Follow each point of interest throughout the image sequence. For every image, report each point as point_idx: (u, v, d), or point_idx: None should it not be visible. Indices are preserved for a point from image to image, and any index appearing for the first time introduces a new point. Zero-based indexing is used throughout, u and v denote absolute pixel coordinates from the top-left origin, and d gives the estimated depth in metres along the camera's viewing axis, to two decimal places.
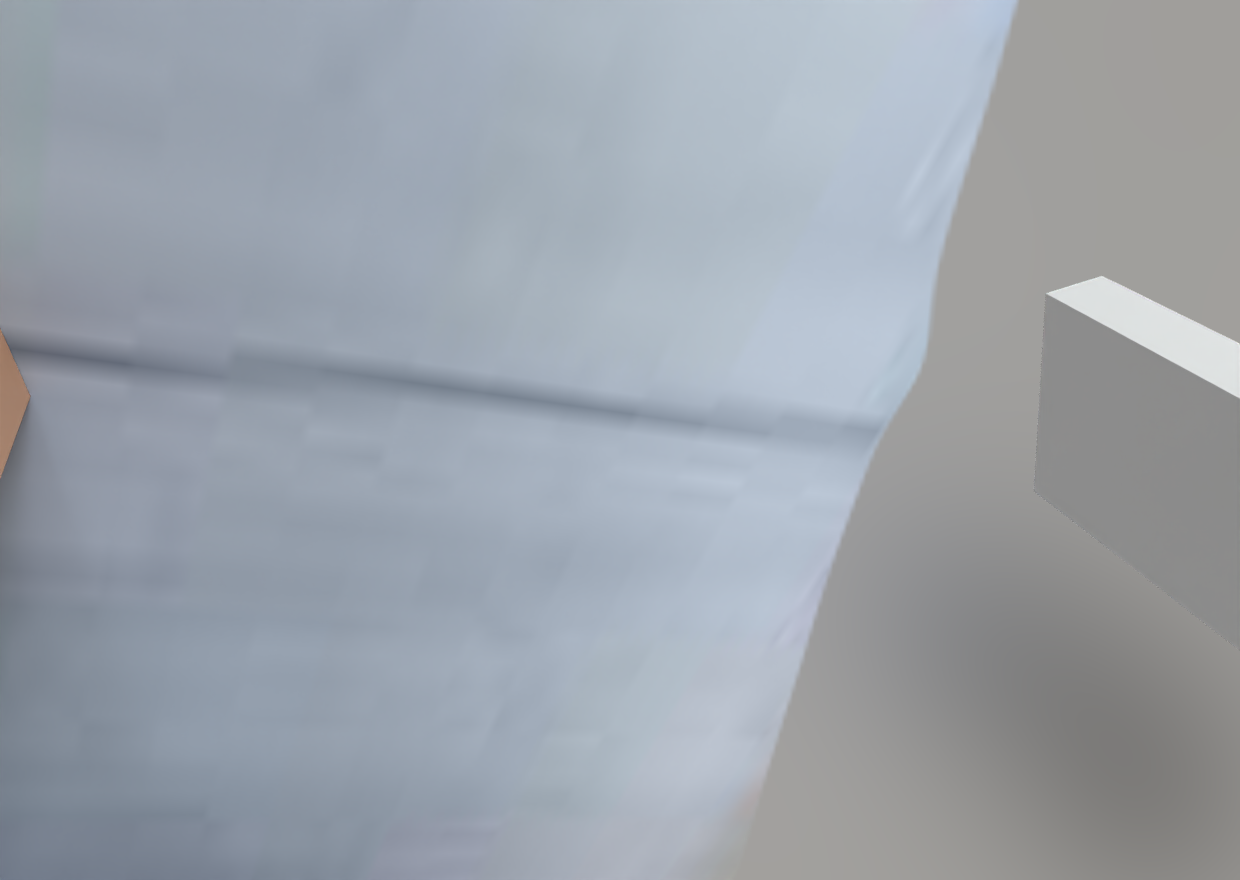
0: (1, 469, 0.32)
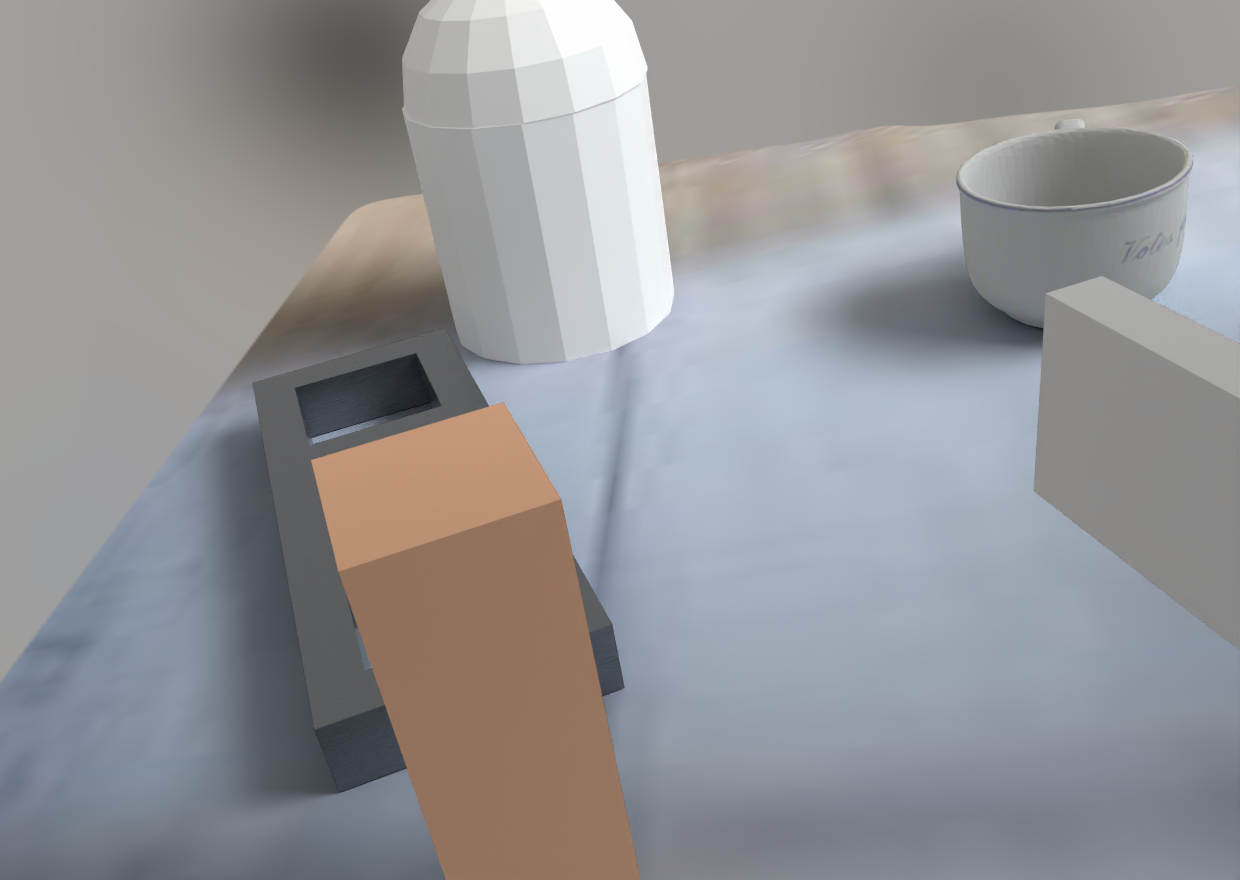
0: None
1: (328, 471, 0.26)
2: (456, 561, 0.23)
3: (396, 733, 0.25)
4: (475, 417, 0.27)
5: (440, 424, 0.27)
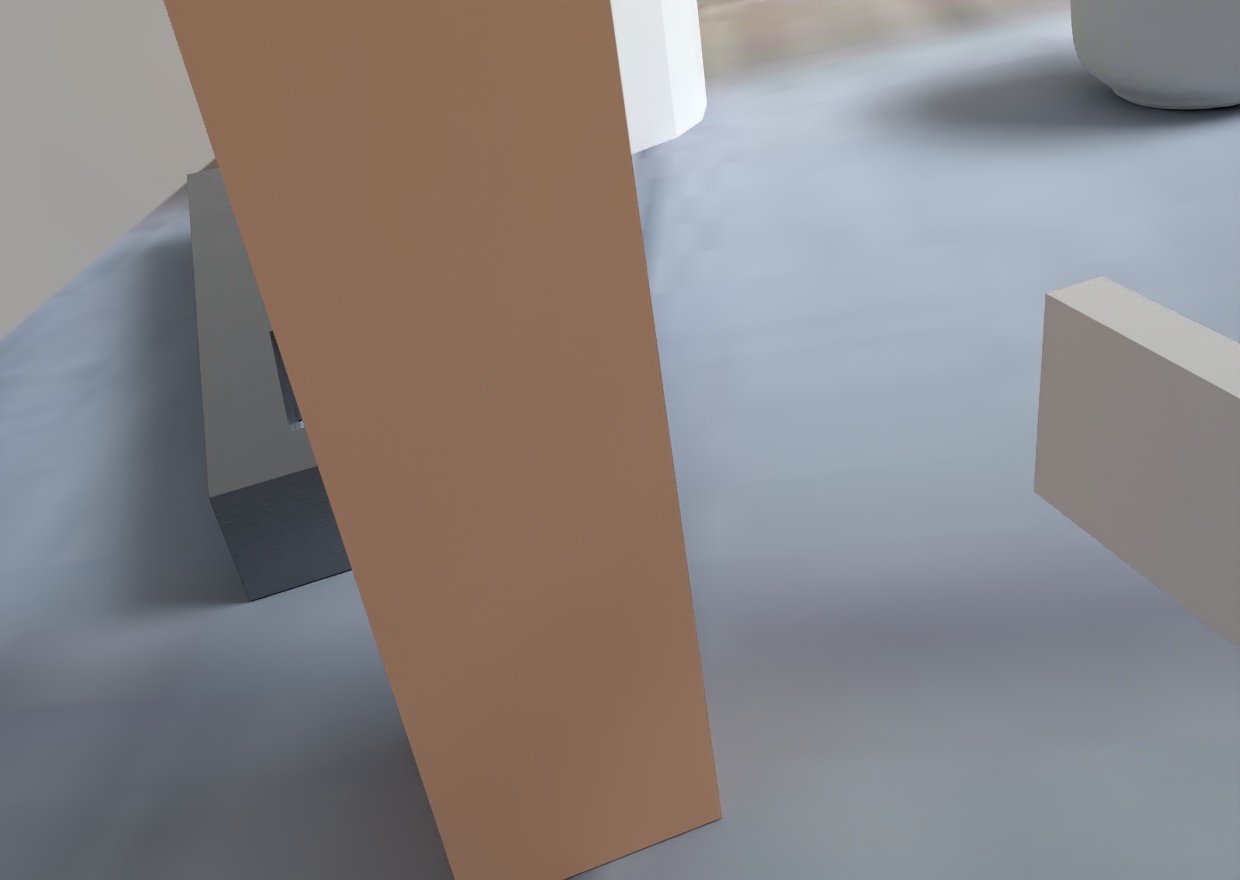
0: (395, 676, 0.16)
1: None
2: None
3: (258, 277, 0.13)
4: None
5: None
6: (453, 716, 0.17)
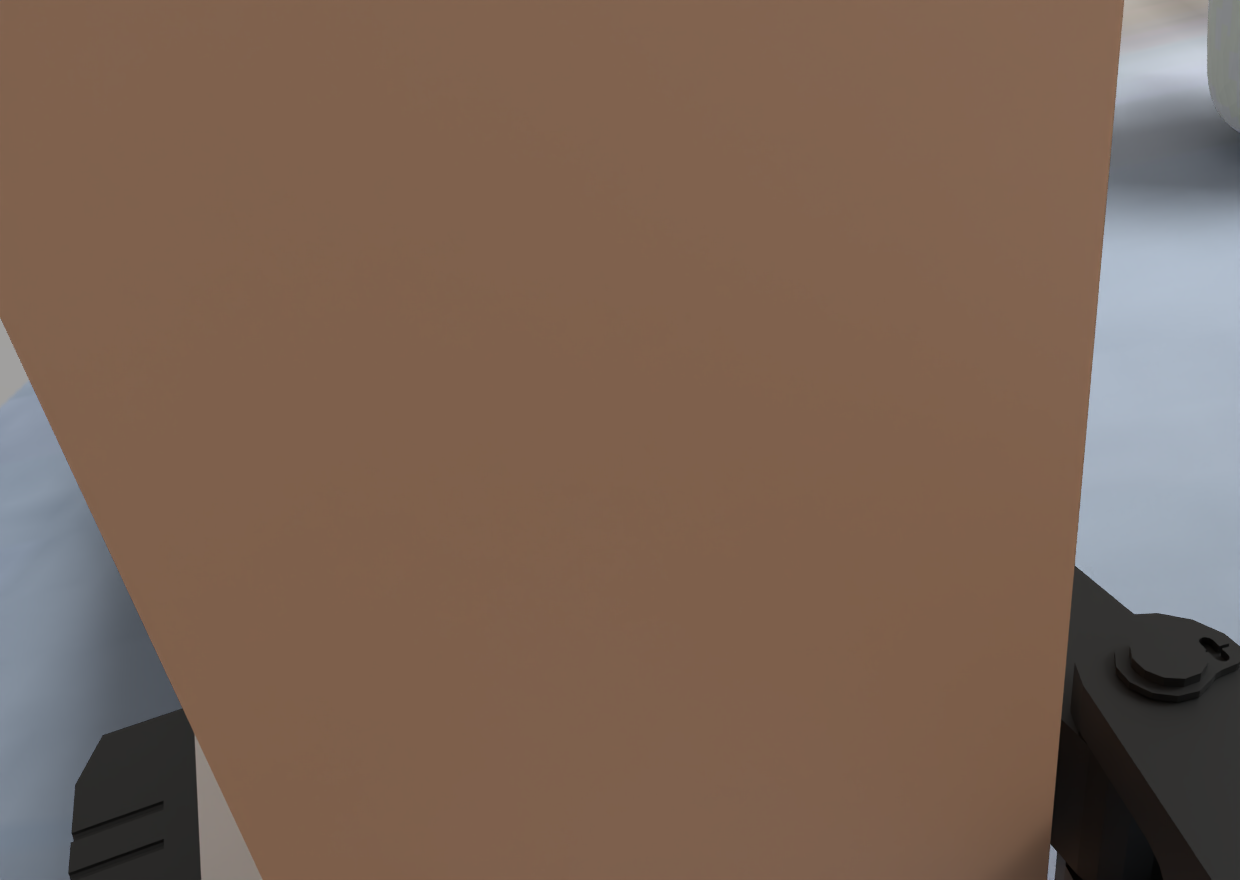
0: None
1: None
2: (595, 52, 0.04)
3: None
4: None
5: None
6: None
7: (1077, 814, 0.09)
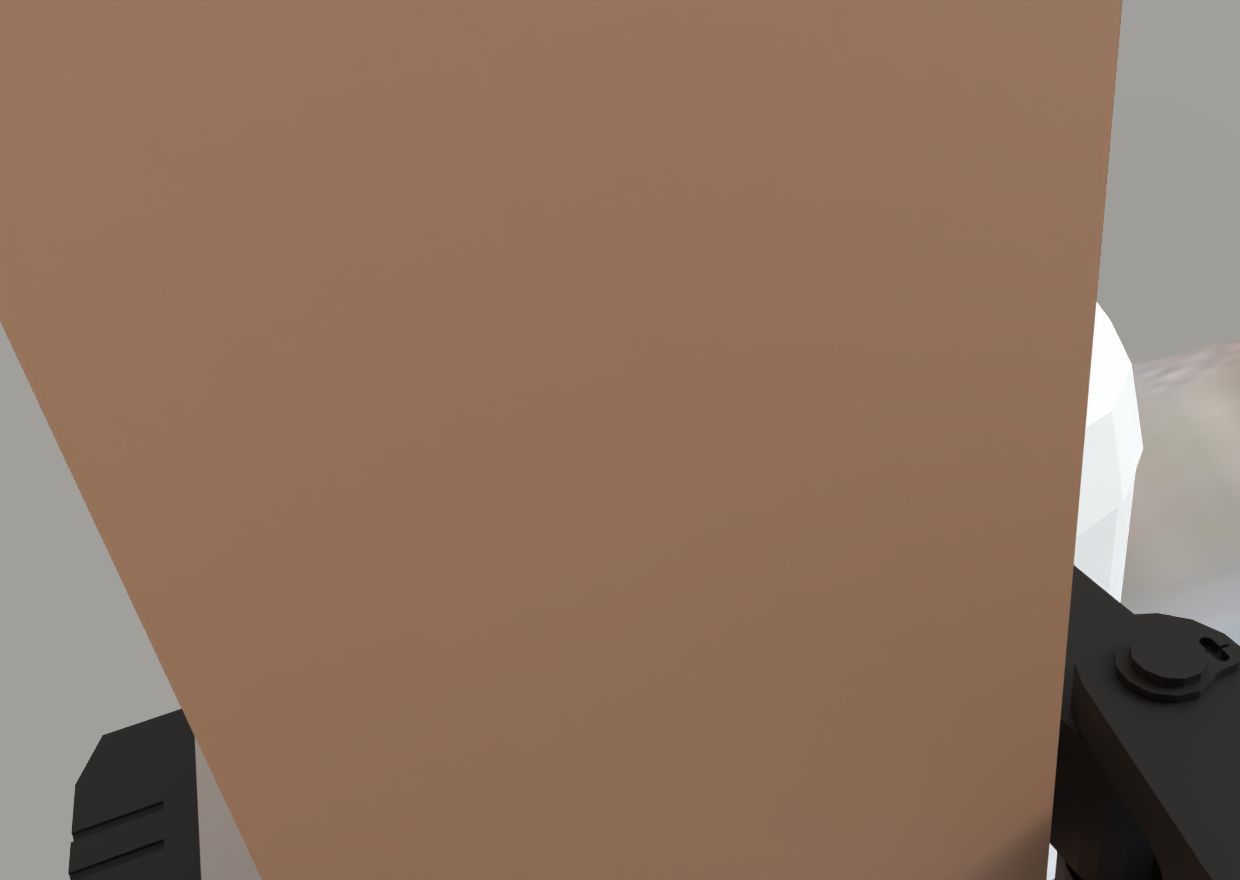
0: None
1: None
2: (595, 52, 0.04)
3: None
4: None
5: None
6: None
7: (1077, 813, 0.09)
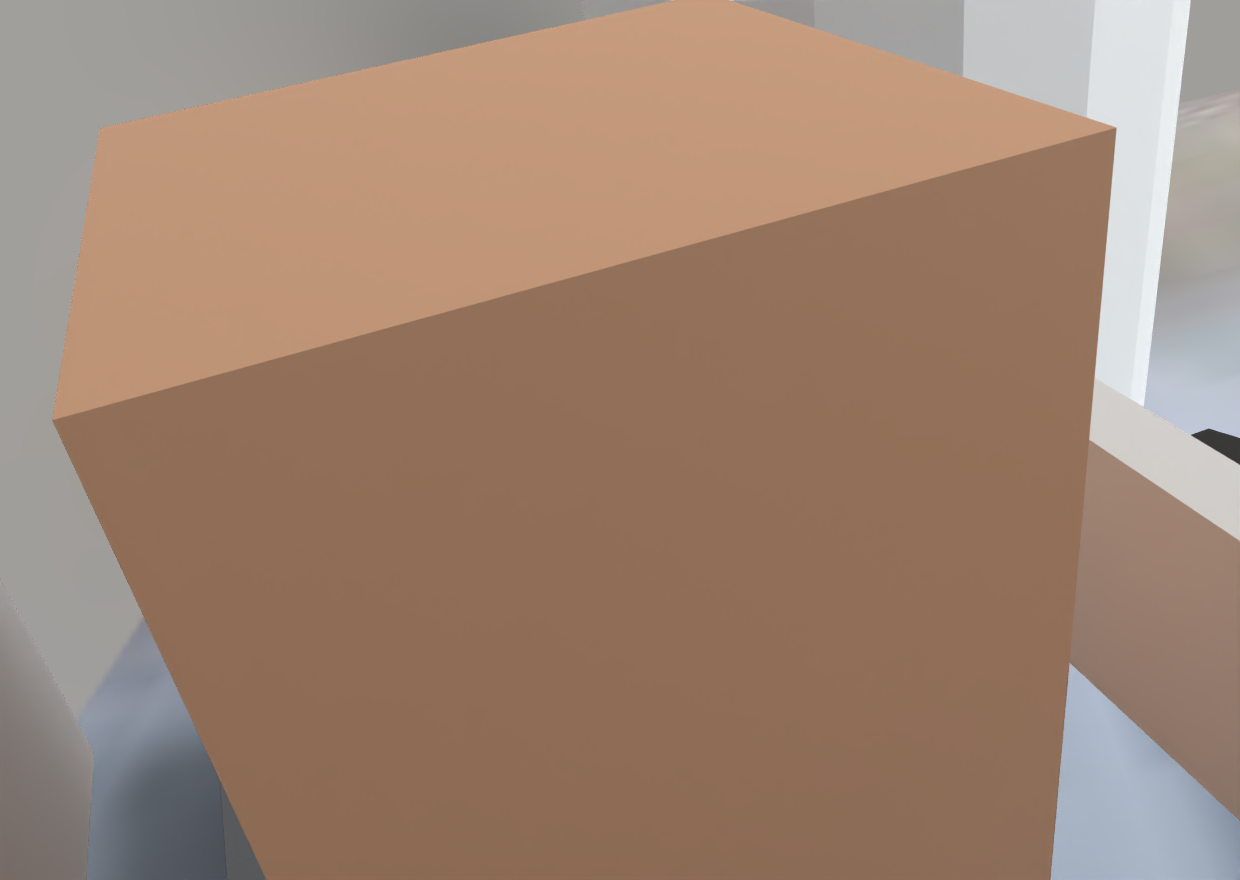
0: None
1: (145, 143, 0.07)
2: (649, 403, 0.05)
3: None
4: (628, 18, 0.09)
5: (521, 38, 0.08)
6: None
7: None
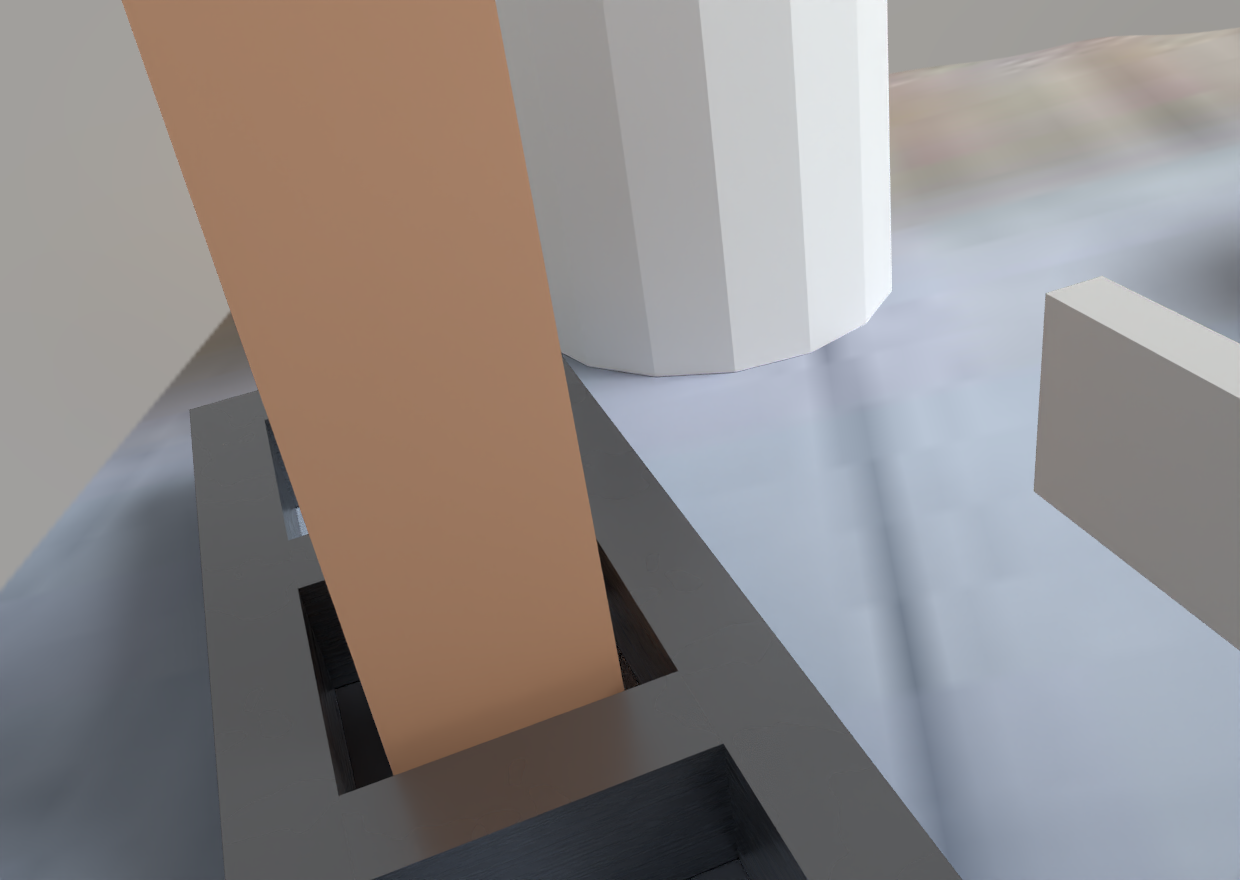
0: (353, 643, 0.20)
1: None
2: (316, 11, 0.15)
3: (236, 321, 0.16)
4: None
5: None
6: (404, 677, 0.20)
7: None
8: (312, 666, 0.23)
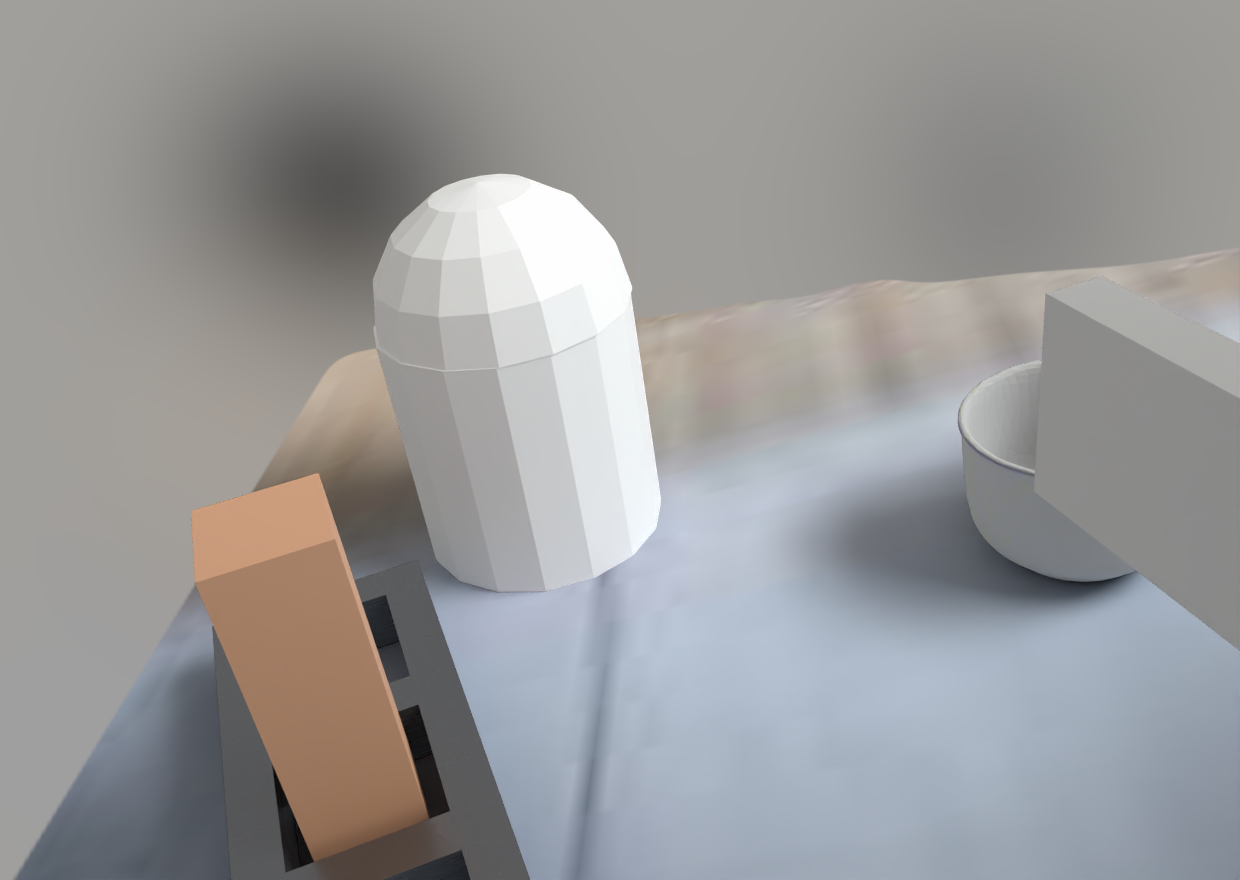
0: (292, 803, 0.43)
1: (200, 518, 0.40)
2: (270, 577, 0.38)
3: (239, 683, 0.39)
4: (298, 483, 0.41)
5: (275, 487, 0.41)
6: (316, 816, 0.43)
7: None
8: (276, 803, 0.46)
